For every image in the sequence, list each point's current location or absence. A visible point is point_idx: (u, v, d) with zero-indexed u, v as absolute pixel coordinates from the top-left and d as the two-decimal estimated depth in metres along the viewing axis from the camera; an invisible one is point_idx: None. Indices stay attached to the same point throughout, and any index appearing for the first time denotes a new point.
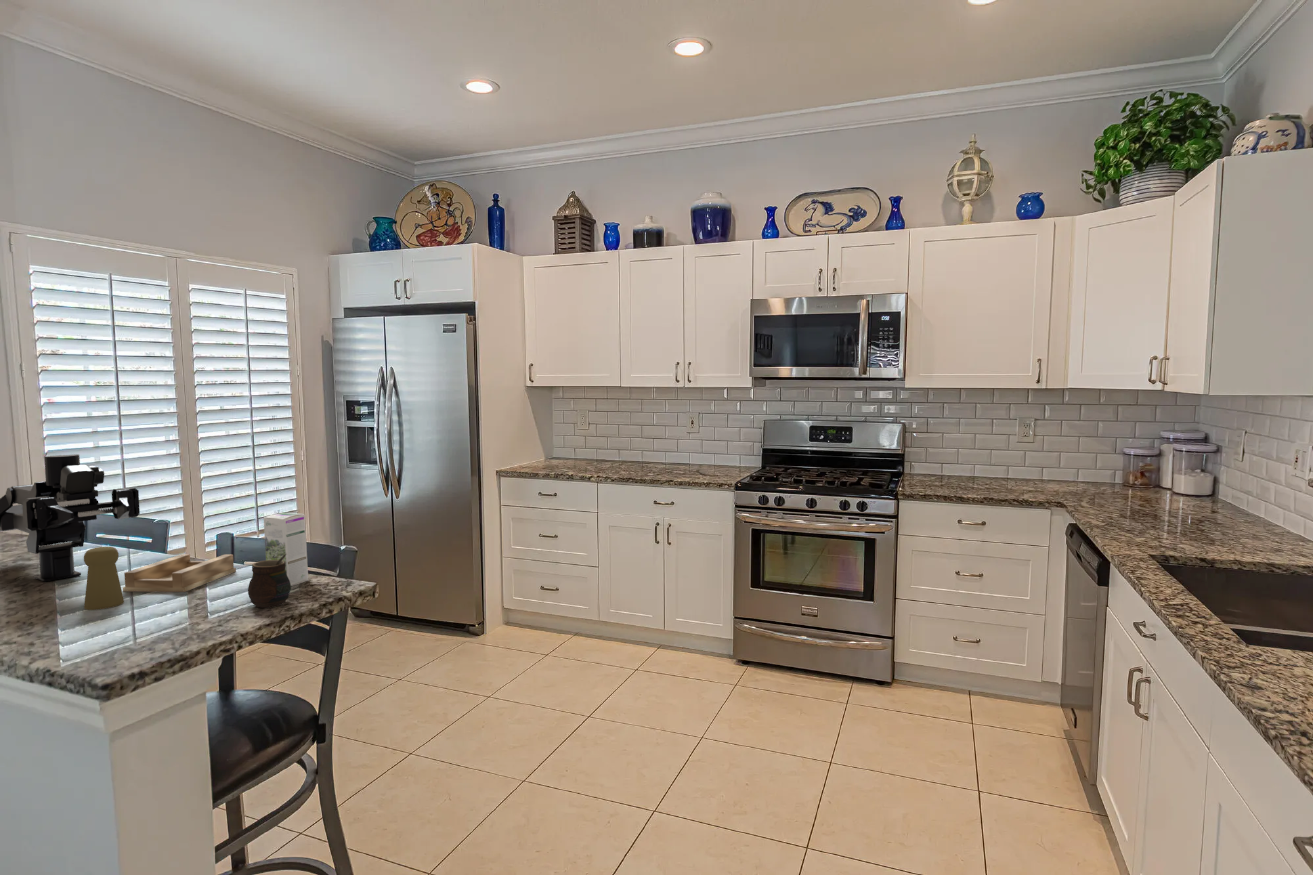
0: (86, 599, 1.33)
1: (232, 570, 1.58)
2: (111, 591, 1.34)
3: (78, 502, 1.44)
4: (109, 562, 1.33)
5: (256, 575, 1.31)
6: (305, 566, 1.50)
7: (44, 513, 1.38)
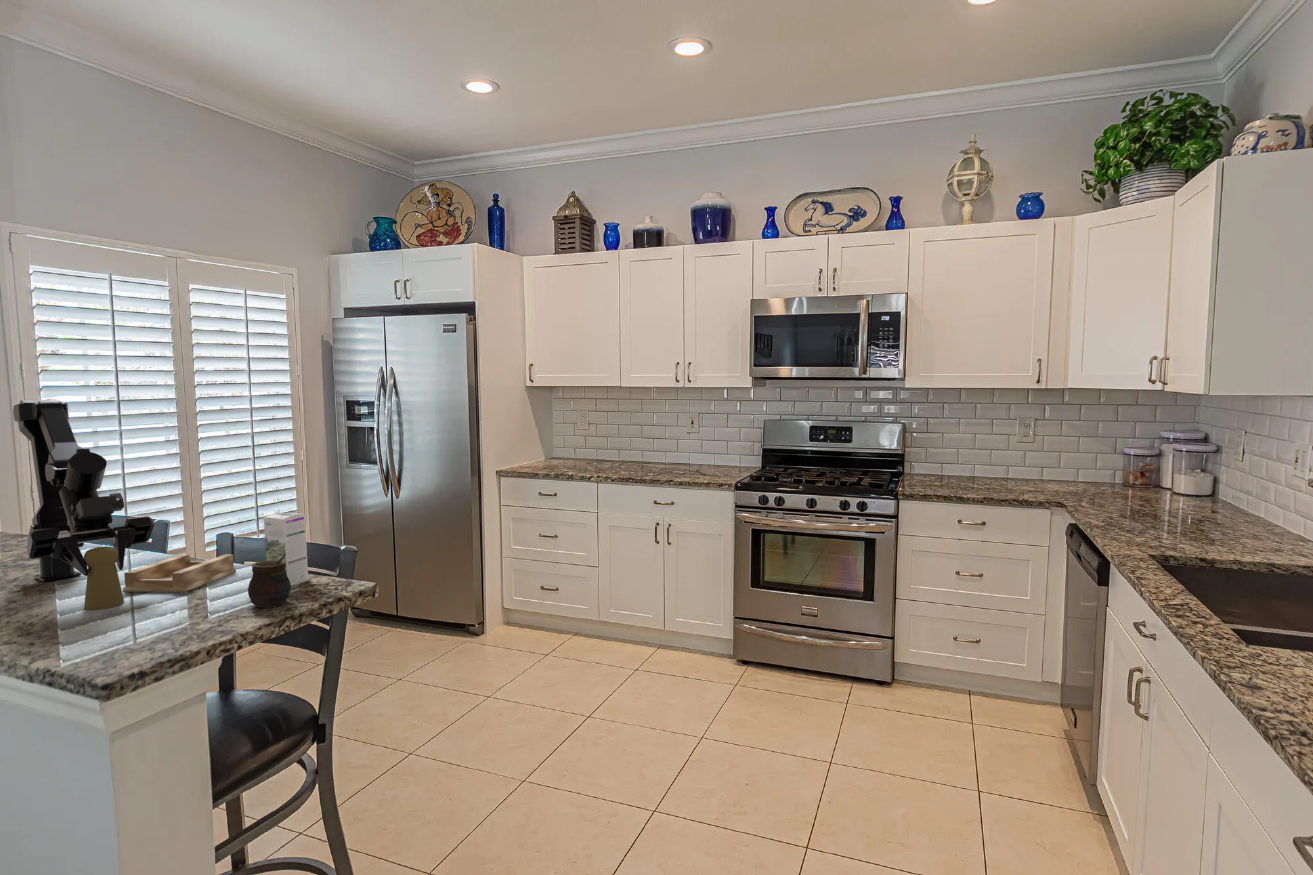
0: (86, 599, 1.33)
1: (232, 570, 1.58)
2: (111, 591, 1.34)
3: (88, 532, 1.36)
4: (109, 561, 1.33)
5: (256, 575, 1.31)
6: (305, 566, 1.50)
7: (62, 548, 1.32)
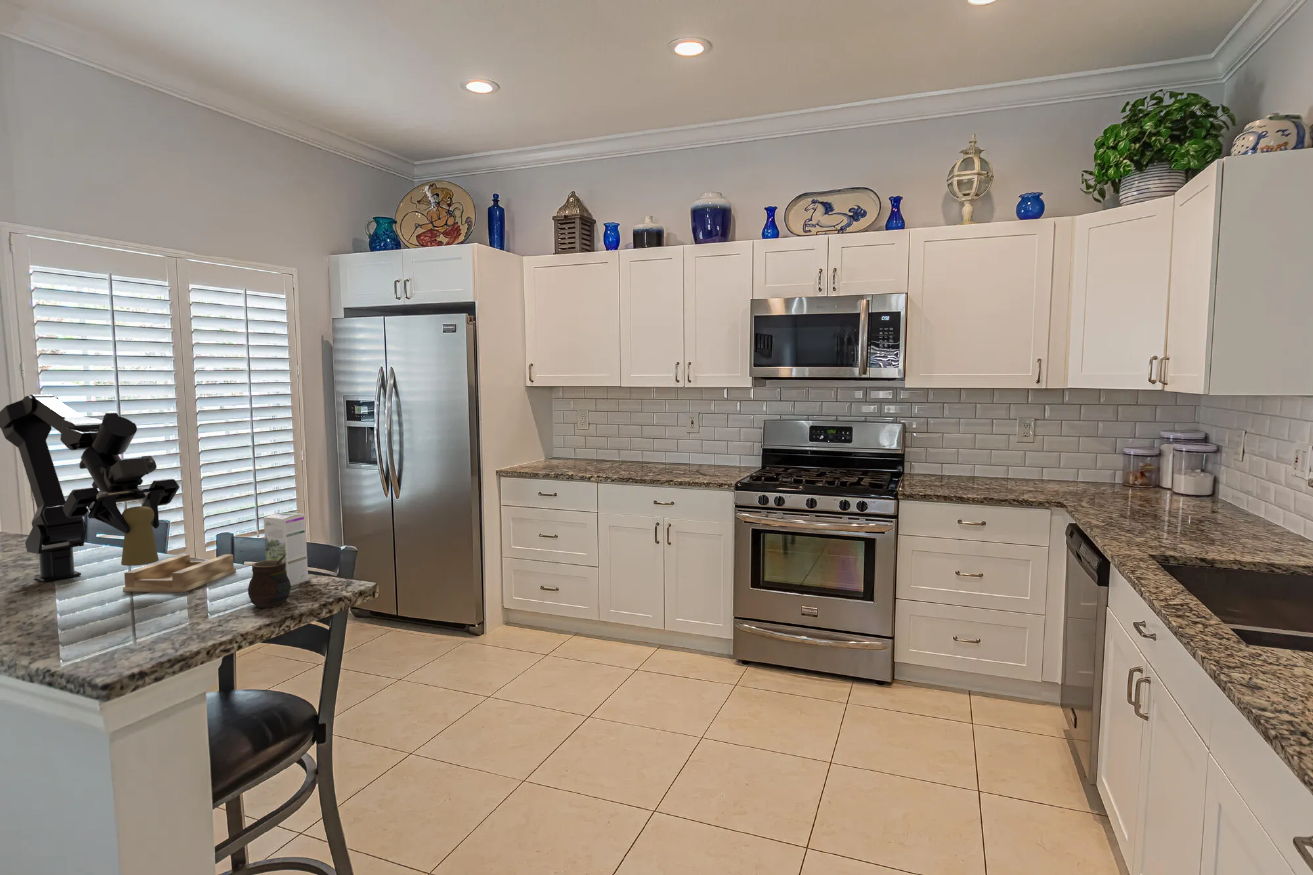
0: (125, 556, 1.39)
1: (232, 570, 1.58)
2: (150, 548, 1.40)
3: (121, 493, 1.41)
4: (148, 520, 1.40)
5: (256, 575, 1.31)
6: (305, 566, 1.50)
7: (100, 508, 1.37)
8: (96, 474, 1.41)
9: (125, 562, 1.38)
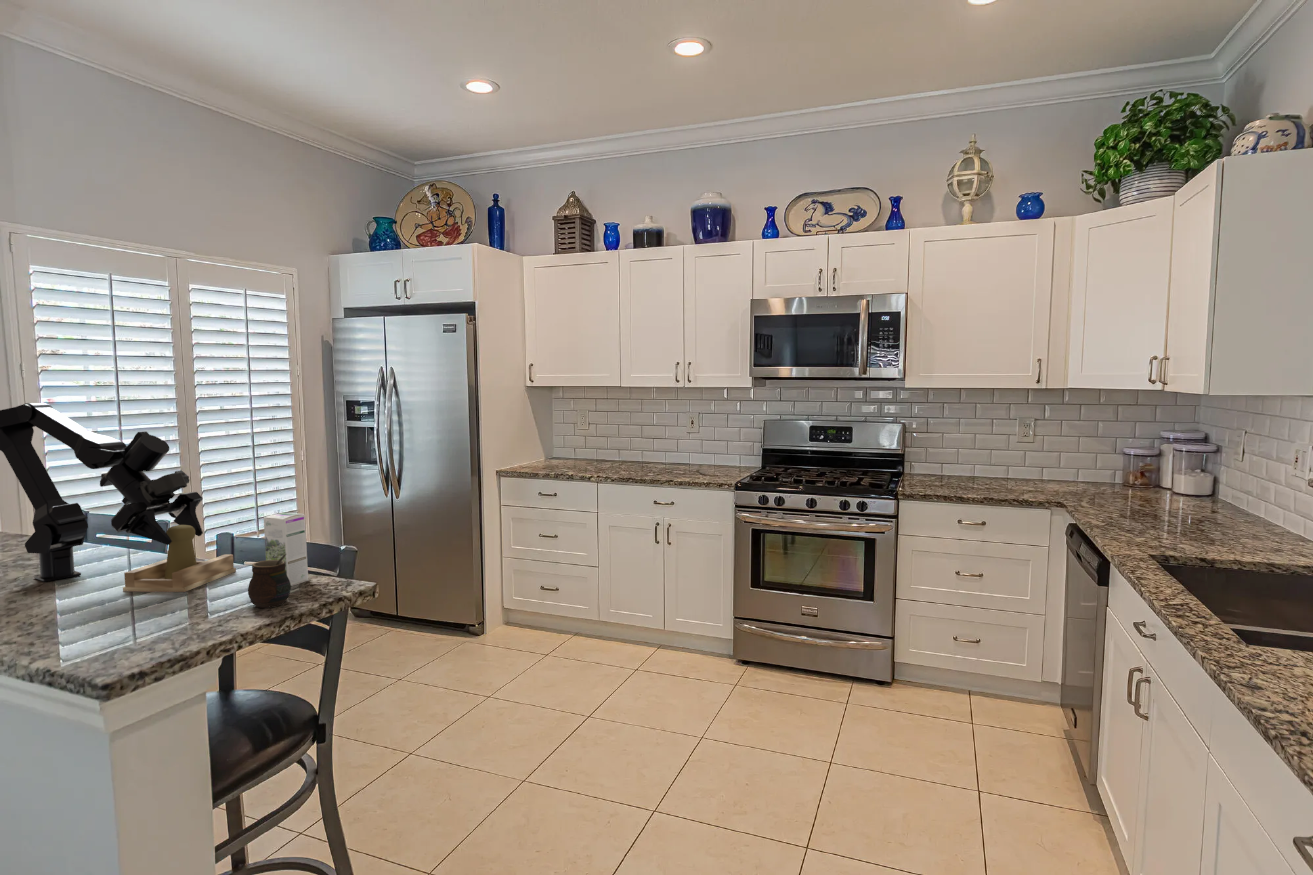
0: (172, 571, 1.49)
1: (232, 570, 1.58)
2: (194, 563, 1.52)
3: (159, 507, 1.50)
4: (193, 537, 1.51)
5: (256, 575, 1.31)
6: (305, 566, 1.50)
7: (139, 522, 1.45)
8: (130, 490, 1.49)
9: None
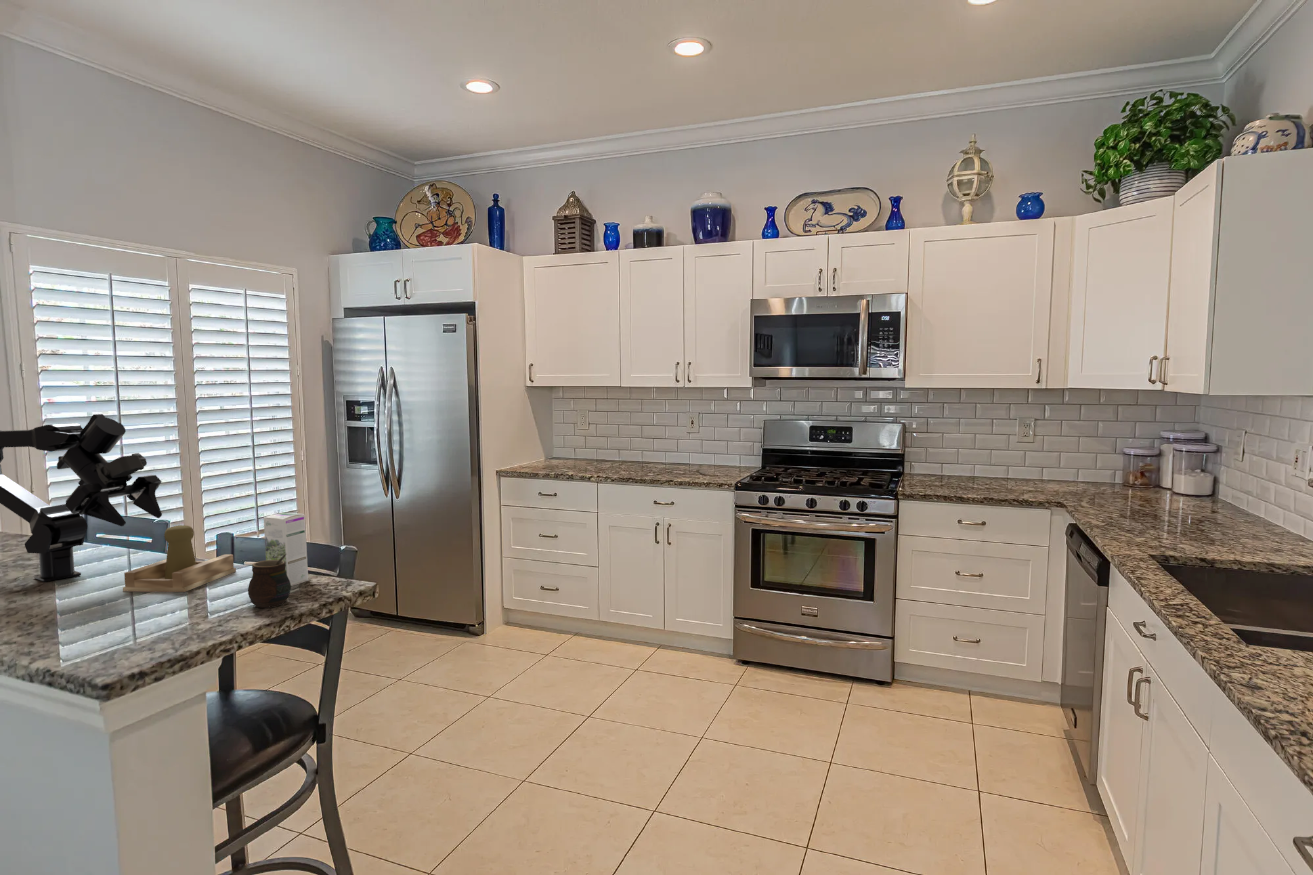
0: (172, 572, 1.49)
1: (232, 570, 1.58)
2: (193, 563, 1.52)
3: (115, 488, 1.51)
4: (191, 537, 1.51)
5: (256, 575, 1.32)
6: (305, 566, 1.50)
7: (92, 504, 1.45)
8: (86, 472, 1.50)
9: None
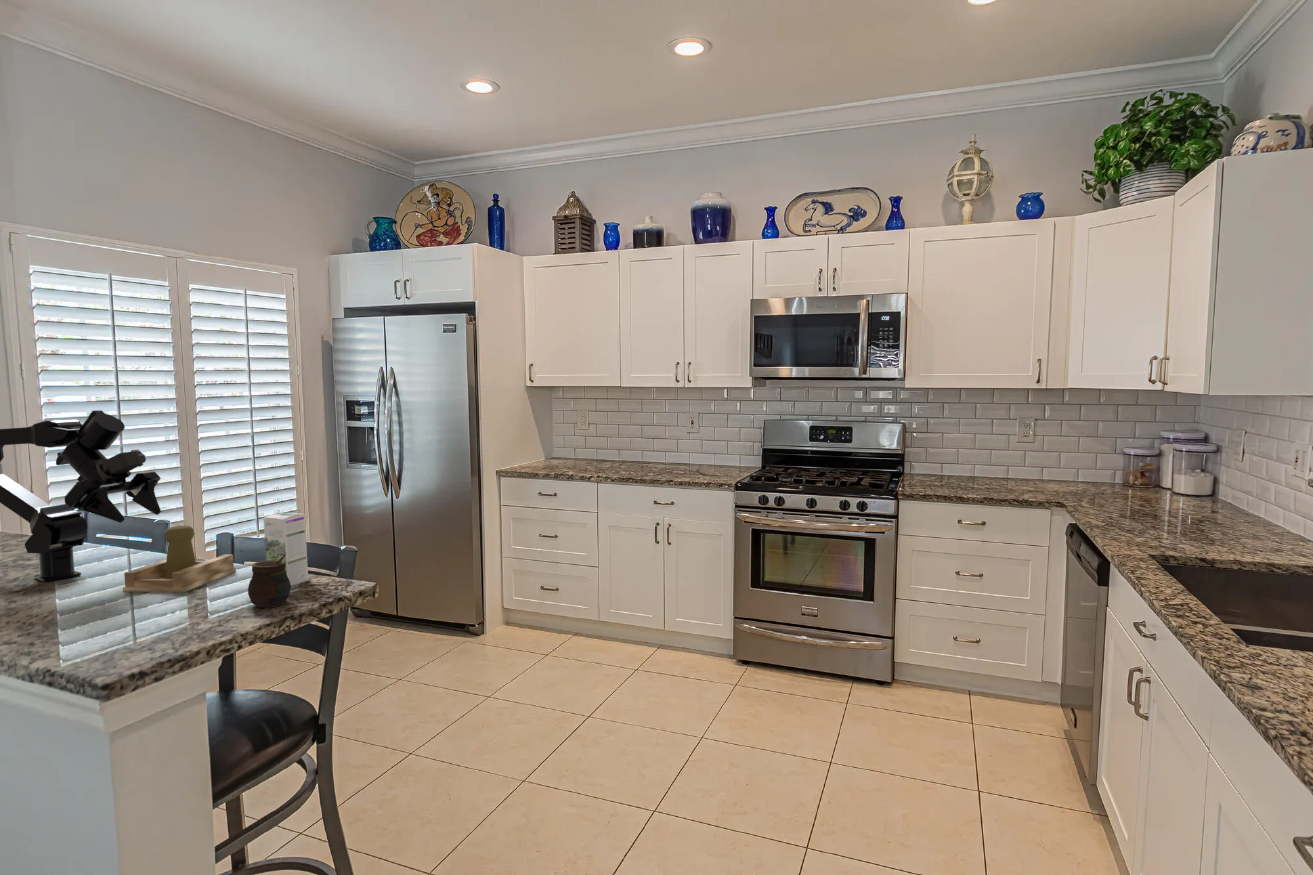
0: (172, 572, 1.49)
1: (232, 570, 1.58)
2: (193, 563, 1.52)
3: (114, 485, 1.51)
4: (191, 537, 1.51)
5: (256, 575, 1.31)
6: (305, 566, 1.50)
7: (91, 500, 1.45)
8: (85, 468, 1.50)
9: None
